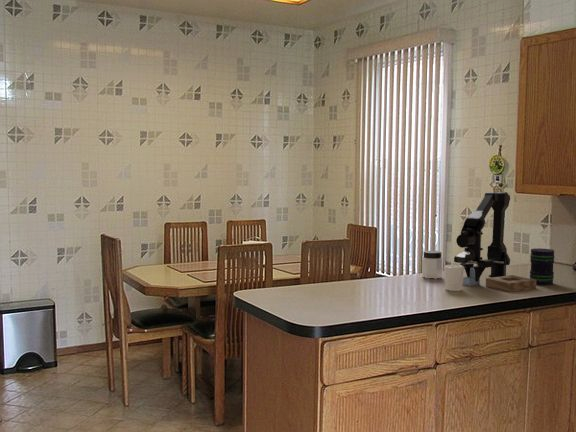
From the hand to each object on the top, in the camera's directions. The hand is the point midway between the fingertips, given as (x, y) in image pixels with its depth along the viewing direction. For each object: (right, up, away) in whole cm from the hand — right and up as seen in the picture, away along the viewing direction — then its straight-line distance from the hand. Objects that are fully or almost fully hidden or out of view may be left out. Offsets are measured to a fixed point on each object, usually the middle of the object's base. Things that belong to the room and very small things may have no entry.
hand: (473, 280), depth 276 cm
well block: (+14, -2, -7) cm, 16 cm away
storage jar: (+31, -2, +2) cm, 31 cm away
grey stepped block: (-1, -2, 0) cm, 2 cm away
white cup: (-12, -3, -12) cm, 17 cm away
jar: (-14, 0, +16) cm, 22 cm away
